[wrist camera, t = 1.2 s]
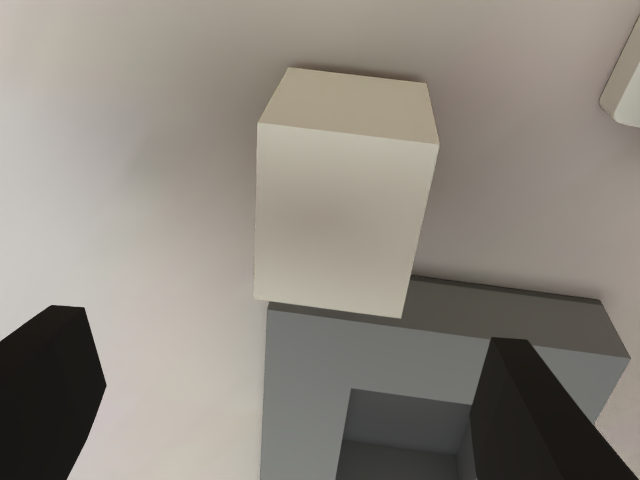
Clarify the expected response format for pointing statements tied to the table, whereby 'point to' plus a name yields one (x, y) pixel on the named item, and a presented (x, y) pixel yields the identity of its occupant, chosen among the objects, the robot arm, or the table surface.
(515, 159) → the table surface
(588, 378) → the socket board
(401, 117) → the plug
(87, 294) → the table surface
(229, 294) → the table surface
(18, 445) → the robot arm
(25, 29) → the table surface
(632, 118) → the security camera
